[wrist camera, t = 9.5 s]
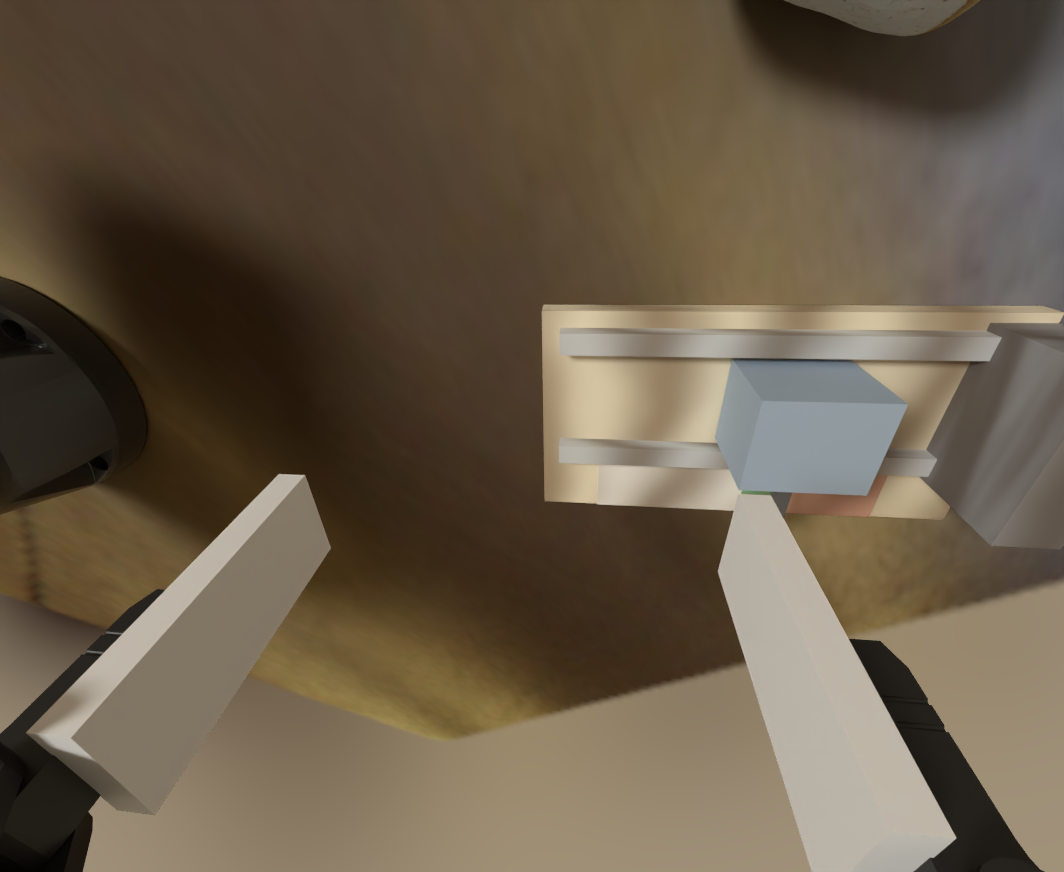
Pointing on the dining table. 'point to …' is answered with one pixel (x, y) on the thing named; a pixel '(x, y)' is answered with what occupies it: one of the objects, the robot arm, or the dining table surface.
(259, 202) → the dining table surface
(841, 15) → the ceramic mug
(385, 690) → the dining table surface
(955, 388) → the gauge base
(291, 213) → the dining table surface
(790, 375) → the carriage
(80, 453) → the robot arm
